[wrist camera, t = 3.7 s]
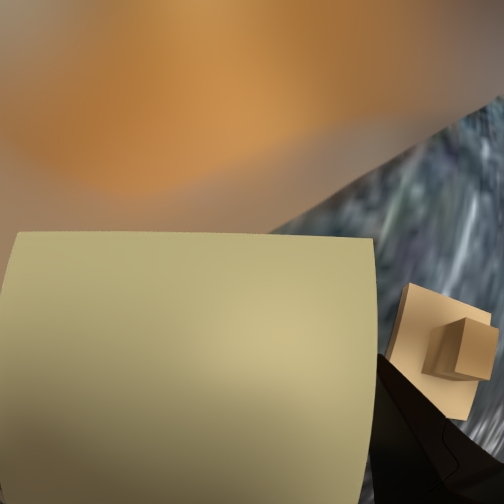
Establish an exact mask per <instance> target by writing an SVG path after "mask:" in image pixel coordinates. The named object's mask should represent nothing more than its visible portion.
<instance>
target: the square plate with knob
mask: <svg viewBox="0 0 504 504" xmlns="http://www.w3.org/2000/svg"><path fill="white" fill-rule="evenodd" d="M490 320H491V314H490V313H487V312H485V311H482V310H480V309H477V308H475V307H472V306H470V305H467V304H465V303H462V302H459V301H457V300H454V299H452V298H449V297H446V296H444V295H441V294H438V293H436V292H433V291H430V290H428V289H425V288H422V287H420V286H417V285H414V284H412V283H409V284H407V285H406V286H405V287H403V291H402V296H401V300H400V304H399V308H398V312H397V316H396V320H395V324H394V328H393V331H392V335H391V338H390V342H389V345H388V348H387V352H386V355H385V358H386V359H387V360H388V361H390V362H391V363H392V364H393V365H394V366H395V367H396V368H397V369H398V370H399V371H400V372H401V373H402V374H403V375H404V376H405V377H406V378H407V379H408V380H409V381H410V382H411V383H412V384H413V385H414V386H415V387H416V388H418V389H419V390H420V391H421V392H422V393H423V394H424V395H425V396H426V397H427V398H428V399H429V400H430V401H431V402H432V403H433V404H434V405H435V406H436V407H437V408H438V409H439V410H440V411H441V412H442V413H443V414H444V415H445V416H446V418H452V419H459V420H467V417H468V415H469V412H470V409H471V406H472V402H473V399H474V396H475V392H476V389H477V385H478V382H479V381H484V380H490V376H491V372H492V367H493V362H494V358H495V352H496V347H497V341H498V334H499V329H497V328H494V327H491V326H490Z"/></svg>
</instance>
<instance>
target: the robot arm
mask: <svg viewBox="0 0 504 504" xmlns="http://www.w3.org/2000/svg"><path fill="white" fill-rule="evenodd" d="M369 454H370V462H371V470H372V480H373V490H374V502H375V504H504V464H503V463H501V462H499V461H498V460H496V459H495V458H494V457H493V456H491V455H490V454H489V453H487V452H486V451H485V450H484V449H482V448H481V447H480V446H479V445H477V444H476V443H475V442H473V441H472V440H471V439H470V438H469V437H467V436H466V435H465V434H464V433H463V432H462V431H461V430H460V429H459V428H458V427H456V426H455V425H454V424H453V423H452V422H451V421H450V420H449V419H448V418H446V416H445V415H444V414H443V413H442V412H441V411H440V410H439V409H438V408H437V407H436V406H435V405H434V404H433V403H432V402H431V401H430V400H429V399H428V398H427V397H426V396H425V395H424V394H423V393H422V392H421V391H420V390H419V389H418V388H416V387H415V386H414V385H413V384H412V383H411V382H410V381H409V380H408V379H407V378H406V377H405V376H404V375H403V374H402V373H401V372H400V371H399V370H398V369H397V368H396V367H395V366H394V365H393V364H392V363H391V362H390V361H388V360H387V359H386V358H385V357H384V356H383V355H382V354H377V368H376V386H375V399H374V410H373V419H372V428H371V436H370V443H369ZM0 504H6V503H5V499H4V496H3V492H2V488H1V484H0Z"/></svg>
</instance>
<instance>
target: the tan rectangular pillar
mask: <svg viewBox="0 0 504 504" xmlns="http://www.w3.org/2000/svg"><path fill="white" fill-rule="evenodd" d="M376 368H377V293H376V274H375V261H374V249H373V239H367V238H346V237H323V236H298V235H270V234H236V233H194V232H189V233H188V232H120V231H119V232H117V231H115V232H114V231H113V232H111V231H107V232H105V231H100V232H99V231H97V232H96V231H77V232H76V231H75V232H74V231H72V232H71V231H67V232H66V231H64V232H63V231H62V232H60V231H59V232H18V234H17V237H16V240H15V243H14V246H13V249H12V252H11V256H10V259H9V262H8V266H7V270H6V274H5V277H4V281H3V285H2V290H1V294H0V484H1V488H2V492H3V496H4V499H5V503H6V504H358V500H359V496H360V492H361V487H362V483H363V478H364V473H365V467H366V462H367V456H368V449H369V443H370V436H371V428H372V419H373V410H374V399H375V386H376Z"/></svg>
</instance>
